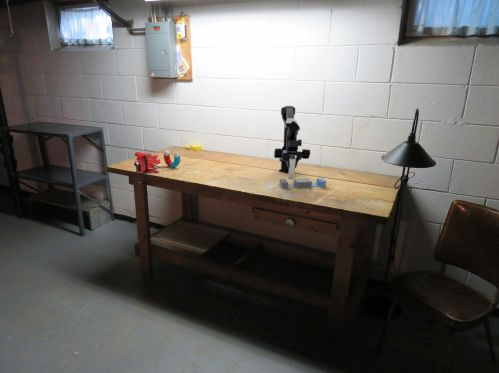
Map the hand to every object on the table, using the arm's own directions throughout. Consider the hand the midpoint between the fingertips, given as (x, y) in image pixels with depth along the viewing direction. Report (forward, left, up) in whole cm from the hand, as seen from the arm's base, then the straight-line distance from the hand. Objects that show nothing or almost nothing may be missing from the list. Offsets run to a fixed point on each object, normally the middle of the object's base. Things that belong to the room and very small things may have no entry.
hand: (292, 167), depth 186 cm
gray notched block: (-6, +4, -12) cm, 14 cm away
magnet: (+9, -79, -12) cm, 80 cm away
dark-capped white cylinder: (-1, -1, -7) cm, 7 cm away
